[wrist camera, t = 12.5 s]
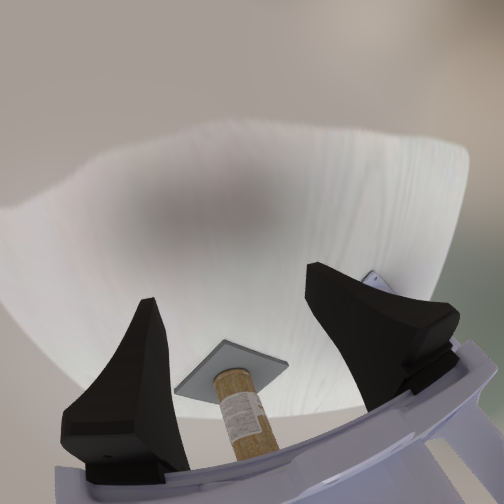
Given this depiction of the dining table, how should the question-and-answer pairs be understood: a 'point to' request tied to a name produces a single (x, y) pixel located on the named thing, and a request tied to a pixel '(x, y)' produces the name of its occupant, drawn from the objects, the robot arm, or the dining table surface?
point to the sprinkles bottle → (244, 415)
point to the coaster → (229, 359)
